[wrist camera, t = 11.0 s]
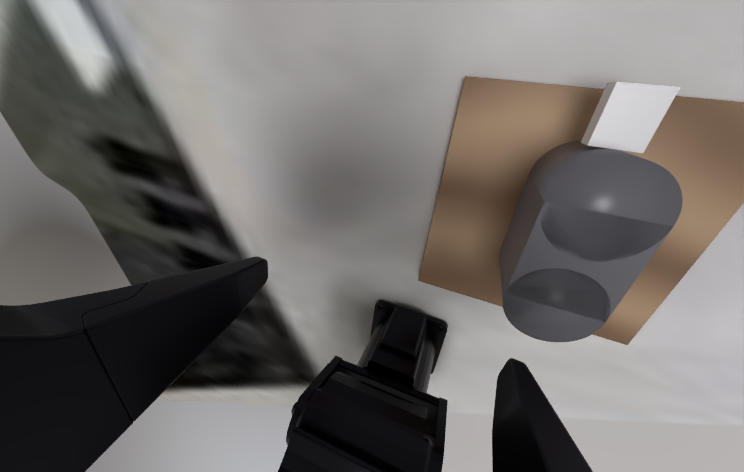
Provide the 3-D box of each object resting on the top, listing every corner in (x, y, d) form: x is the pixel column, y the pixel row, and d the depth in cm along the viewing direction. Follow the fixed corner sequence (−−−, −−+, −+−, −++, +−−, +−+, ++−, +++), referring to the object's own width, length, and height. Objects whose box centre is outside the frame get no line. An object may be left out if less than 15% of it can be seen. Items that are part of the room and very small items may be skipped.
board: (622, 336, 18) (627, 345, 18) (420, 275, 22) (418, 280, 21) (800, 109, 12) (819, 109, 11) (466, 77, 15) (465, 76, 15)
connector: (560, 294, 18) (583, 353, 14) (490, 275, 19) (491, 324, 15) (673, 92, 12) (772, 88, 8) (563, 83, 13) (598, 74, 9)
